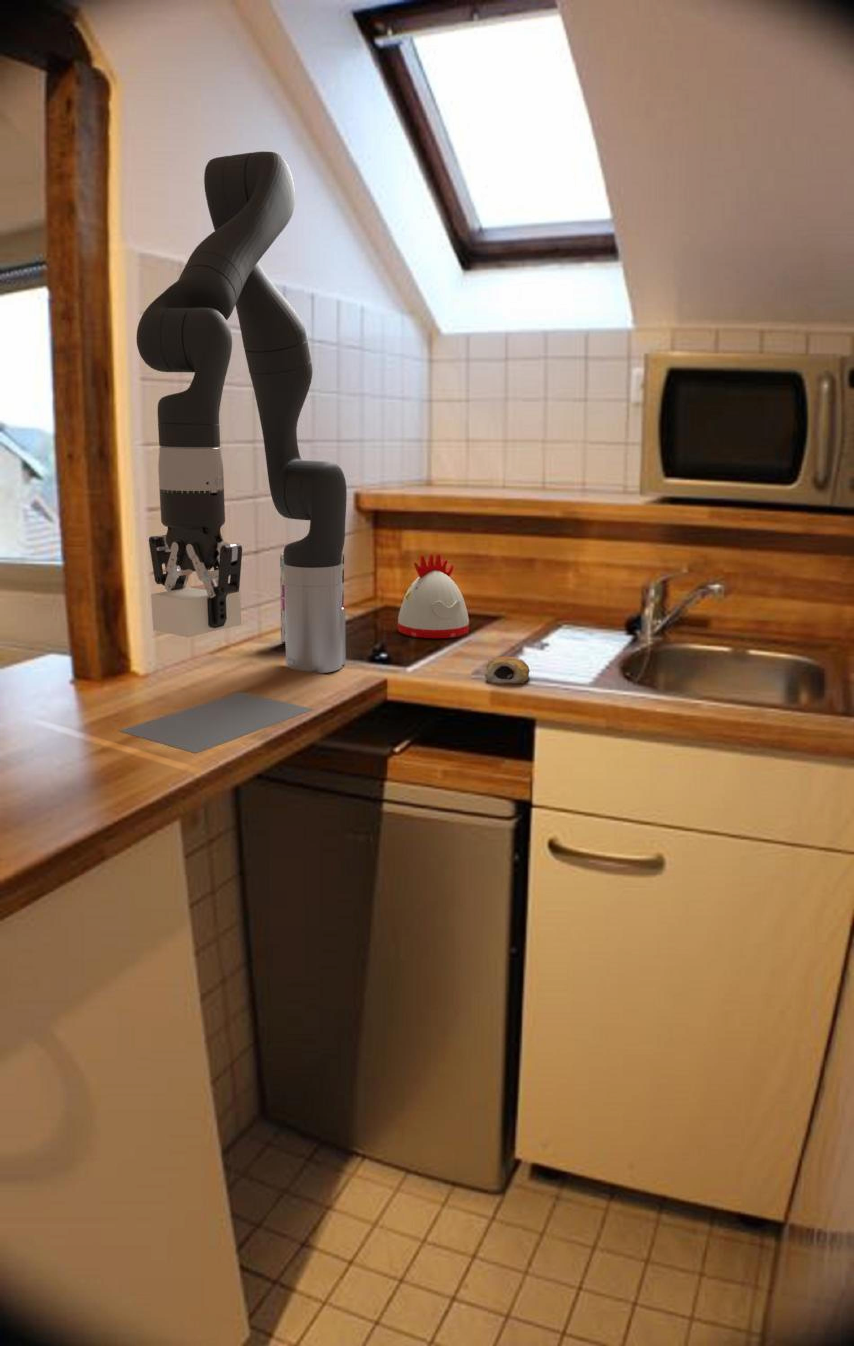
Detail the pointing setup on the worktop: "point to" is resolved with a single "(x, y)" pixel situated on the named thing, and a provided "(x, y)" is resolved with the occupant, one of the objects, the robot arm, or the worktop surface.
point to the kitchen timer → (433, 603)
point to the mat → (216, 721)
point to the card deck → (190, 611)
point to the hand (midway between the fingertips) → (198, 622)
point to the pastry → (507, 670)
